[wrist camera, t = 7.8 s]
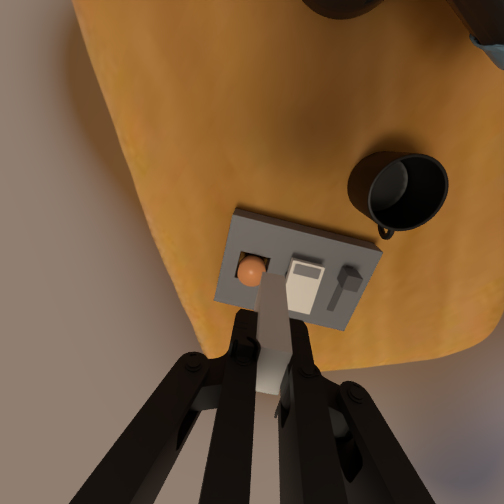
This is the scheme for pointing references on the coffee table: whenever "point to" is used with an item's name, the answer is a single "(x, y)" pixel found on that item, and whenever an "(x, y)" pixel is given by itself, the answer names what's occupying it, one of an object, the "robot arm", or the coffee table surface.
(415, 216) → the mug
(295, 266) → the rocker
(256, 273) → the button
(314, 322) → the panel
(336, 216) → the coffee table surface
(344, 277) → the slider
